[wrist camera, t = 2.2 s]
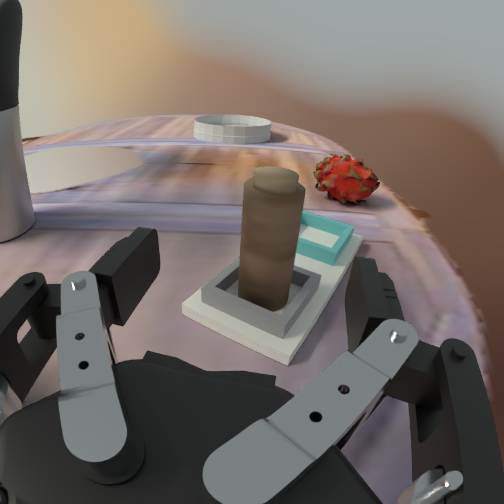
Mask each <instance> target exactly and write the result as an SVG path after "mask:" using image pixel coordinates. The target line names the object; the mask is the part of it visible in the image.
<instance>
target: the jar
mask: <svg viewBox="0 0 504 504" xmlns="http://www.w3.org/2000/svg"><path fill="white" fill-rule="evenodd" d="M298 179H299V175H298V174H297V173H296V172H294V171H292V170H289V169H286V168H280V167H260V168H257V169H255V170H254V173H253V178H251V179H249V180H247V181H246V182H245V183H244V196H243V212H242V229H241V246H240V263H239V281H238V297H239V298H242V299H244V300H246V301H249V302H251V303H253V304H255V305H258V306H260V307H262V308H265V309H267V310H269V311H272V312H274V311H278V310H280V309H281V308H283V307H284V306H285V305H286V304H287V301H288V297H289V291H290V285H291V280H292V274H293V268H294V262H295V256H296V249H297V243H298V237H299V231H300V224H301V218H302V211H303V204H304V197H305V188H304V187H303V186H302V185H301V184H299V183H298Z"/></svg>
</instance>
